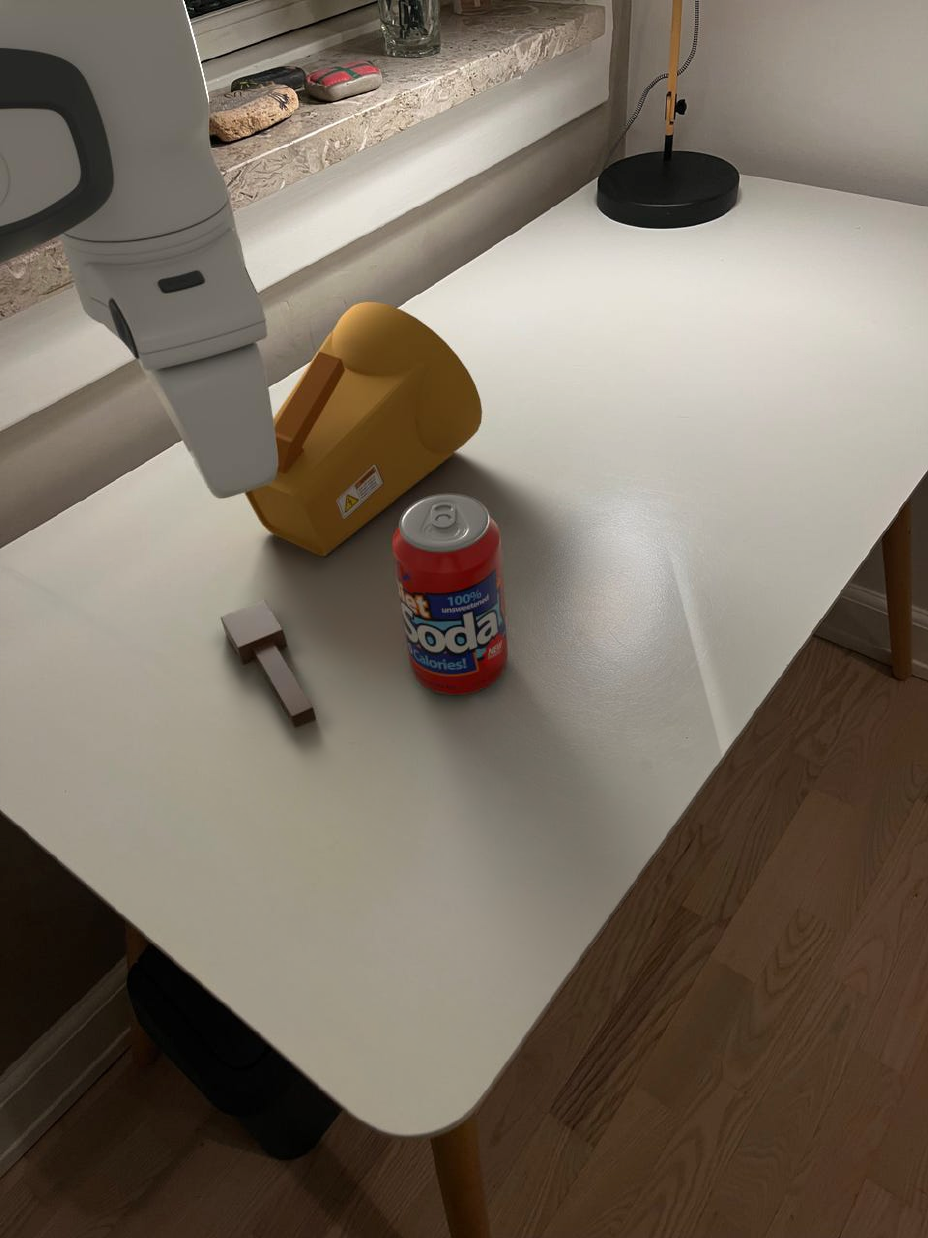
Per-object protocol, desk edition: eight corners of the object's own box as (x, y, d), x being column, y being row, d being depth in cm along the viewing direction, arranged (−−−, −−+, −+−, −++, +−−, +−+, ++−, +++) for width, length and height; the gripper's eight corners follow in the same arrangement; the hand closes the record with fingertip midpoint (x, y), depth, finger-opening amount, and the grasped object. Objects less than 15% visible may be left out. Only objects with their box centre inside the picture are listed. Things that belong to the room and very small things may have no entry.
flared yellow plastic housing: (369, 413, 111) (317, 278, 97) (497, 460, 103) (460, 320, 89) (251, 545, 104) (175, 419, 90) (379, 606, 96) (318, 478, 82)
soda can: (505, 629, 86) (497, 482, 76) (510, 699, 80) (502, 550, 70) (412, 635, 86) (390, 490, 76) (410, 705, 80) (387, 558, 70)
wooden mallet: (329, 713, 80) (325, 696, 79) (281, 734, 79) (276, 717, 78) (269, 616, 89) (264, 599, 88) (225, 633, 88) (220, 616, 87)
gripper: (61, 211, 61) (128, 415, 70) (144, 357, 47) (213, 585, 56) (166, 187, 62) (217, 388, 72) (275, 321, 49) (321, 548, 58)
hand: (216, 476), depth 64 cm, fingers closed
